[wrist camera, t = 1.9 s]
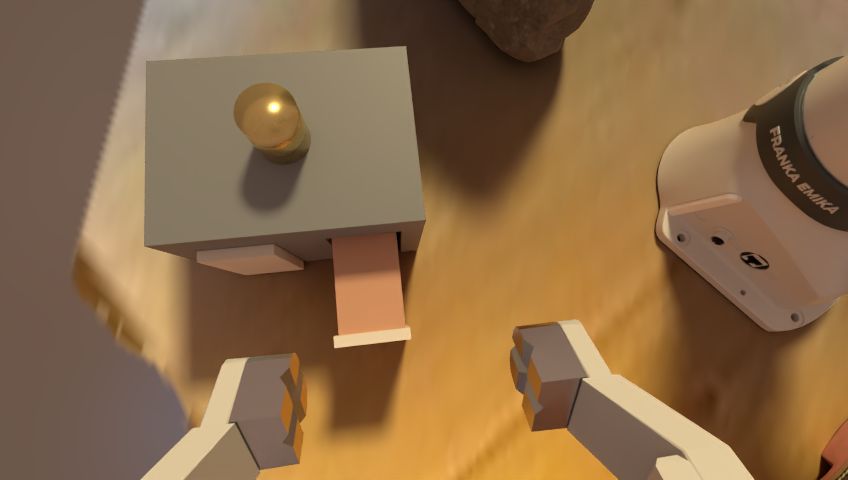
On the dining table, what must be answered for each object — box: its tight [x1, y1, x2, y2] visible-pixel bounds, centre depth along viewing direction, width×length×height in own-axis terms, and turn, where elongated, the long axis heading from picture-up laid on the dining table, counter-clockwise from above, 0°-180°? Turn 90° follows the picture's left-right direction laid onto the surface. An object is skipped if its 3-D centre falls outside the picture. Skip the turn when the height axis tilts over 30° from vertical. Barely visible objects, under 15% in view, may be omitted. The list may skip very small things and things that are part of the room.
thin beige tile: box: [197, 244, 304, 275], centre depth 35 cm, size 12×5×9 cm, turn 6°
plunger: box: [332, 232, 411, 348], centre depth 34 cm, size 12×5×9 cm, turn 6°
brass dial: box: [233, 83, 311, 165], centre depth 26 cm, size 4×4×4 cm
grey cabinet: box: [144, 46, 426, 262], centre depth 34 cm, size 13×18×13 cm
